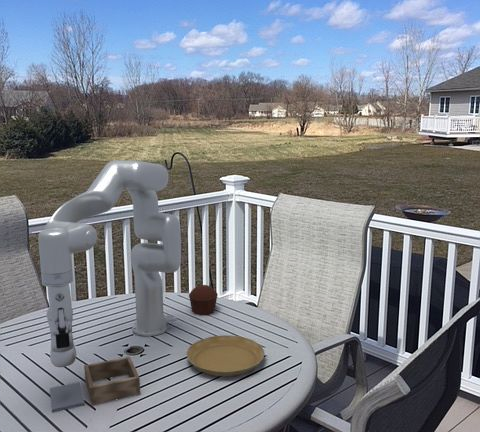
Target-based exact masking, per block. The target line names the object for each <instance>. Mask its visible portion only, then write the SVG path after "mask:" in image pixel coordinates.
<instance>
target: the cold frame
mask: <svg viewBox="0 0 480 432" xmlns="http://www.w3.org/2000/svg"><path fill="white" fill-rule="evenodd" d="M83 369H84V379H85V380H84V381H85V382H84V383H85V385H86V390H87V395H88V399H89V402H90V403H89V404H90V406H96V405H100V404H104V403H108V401H109V402H114V401H117V400H116V399H118V400H122V399H126V397H127V398H130V396H131V397H135V395H136V396H139V395H141V382H140V381H141V379H140V376H139V373H138V371H137V369H136V367H135V365H134V362H133V360H132V358H131V356H125V357H120V358H115V359H110V360H109V359H108V360H105V361H101V362H99V361H98V362H95V363H90V364H85V365H83ZM126 375H127V376H128V377H127V378H123V379H119V380H113V381H109V382H104V383H100V384H99V383H98V384H93V382H97V381H103V380H107V378H108V379H111V377H113V378H117V377H122V376H126ZM116 376H117V377H116ZM113 400H114V401H113Z"/></svg>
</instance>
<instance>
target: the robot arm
mask: <svg viewBox="0 0 480 432" xmlns="http://www.w3.org/2000/svg"><path fill="white" fill-rule="evenodd" d="M169 178H170V177H169V173H168V169H167V168H166V167H165V166H164V165H163V164H160V163H153V162H145V161H141V160H117V159H116V160H111V161H109V162H107V163H106V164H105V166H104V167H103V168H102V170H101V171H100V172H99V174H98V175H97V176H96V178H95V179H94V181H93V182H92V183H91V185H90V186H89V188H88V189H87V190H86V191H85V192H83V193H81V194H79V195H77V196H75V197H74V198H72V199H70V200H68V201H66V202H65V203H64V204H62V205H60V206H59V208H57V209H56V210H55V212H54V213H53V214H51V215H52V216H51V217H50V218H49V220H48V221H47V223H46V224H45V226H44V228H43V230H41V231H39V233H38V236H37V239H38V252H39V263H40V266H39V267H40V275H41V284H42V285H41V286H44V287H47V297H48V304H49V305H48V306H49V307H50V312H51V316H52V321H53V323H54V324H56V333H57V334H55V335H56V347H57V349H60V348H66V347H69V346H70V342H69V332H68V327H67V320H68V321H70V322H71V321H72V322H73V321H74V318H73V316H74V315H73V316H72V310H73V307H72V295H71V286H70V285H71V284H72V283H73V281H74V276H73V275H74V274H73V272H74V271H73V262H72V255H73V254H77V253H83V252H87V251H89V250H91V249H92V248H93V247H94V246H95V245H96V244H97V241H98V232H97V230H96V228H95V227H94V226H92V225H91V224H88V223H84V222H83V223H82V222H81V221H82V220H85V219H87V218H91V217H95V216H99V215H101V214H102V215H103V214H104V213H107V212H108V211H111V210H112V209H113V207H114V206H115V204H116V203H117V201H118V200H119V198H120V196H121V195H122V194H123V192H124V190H126V191H127V193H128V194H129V195H130V198H131V200H132V211H133V217H132V218H133V231H134V234H135V236H136V237H137V238H138V239H140V240H145V241H152V242H140V243H137V244H135V245H134V246H133V247H132V249H131V250H130V251H131V252H130V263H131V266H132V269H133V270H132V272H133V276H134V278H133V279H134V294H135V318H136V320H135V321H136V322H135V323H134V324H133V325H132V328H131V329H132V332H133V333H134V334H135V335H137V336H140V337H154V336H158V335H161V334H163V333H165V332H166V331H168V329H169V323H172V322H177V321H178V317H177V316H176V315H174V316H173V315H172V314H167V315H165V314H164V296H163V295H164V293H163V292H164V291H163V287H164V286H163V279H162V276H161V274H160V273H166V274H168V273H169V274H172V273H176V272H177V271H178V270H179V268H180V267H181V262H182V241H181V240H182V236H181V231H182V230H181V224H180V220H179V218H178V217H177V216H176V215H174V214H171V213H164V212H162V213H161V212H160V209H159V198H158V195H157V192H160V191H163V190H164V189H165V188H166V187H167V185H168V184H169ZM154 241H155V242H162V243H161V244H160V243H153V242H154ZM59 296H60V297H59ZM63 312H64V313H63ZM64 318H65V321H64ZM57 319H59V322H57ZM58 324H59V326H60V327H58Z"/></svg>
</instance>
